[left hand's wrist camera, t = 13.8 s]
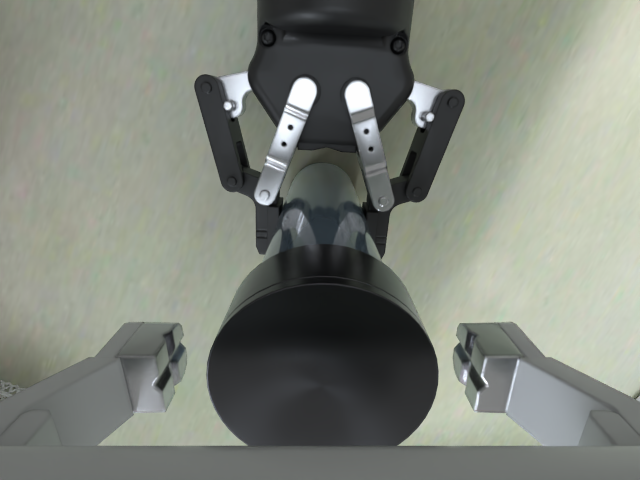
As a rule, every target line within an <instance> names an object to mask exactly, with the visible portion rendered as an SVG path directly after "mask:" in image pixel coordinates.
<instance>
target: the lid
mask: <svg viewBox="0 0 640 480" xmlns="http://www.w3.org/2000/svg"><path fill="white" fill-rule="evenodd" d="M438 372H439V371H438V363H437V358H436V354H435V351H434V348H433V345H432V343H431V341H430V339H429V336H428V334H427V332H426V330H425V328H424V325H423V323H422V321H421V319H420V317H419V314H418V312H417V310H416V308H415V306H414V303H413V301H412V299H411V297H410V295H409V293H408V291H407V289H406V287H405V286H404V284H403V283H402V281H401V280H400V278H399V277H398V276H397V275H396V274H395V273H394V272H393V271H392V270H391V269H390V268H389V267H387V266H386V265H385V264H384V263H382V262H381V261H379V260H378V259H376V258H374V257H373V256H371V255H369V254H367V253H364V252H362V251H360V250H356V249H353V248H350V247H346V246H340V245H334V244H312V245H304V246H299V247H294V248H291V249H288V250H285V251H282V252H280V253H278V254H276V255H274V256H272V257H270V258H268V259H267V260H265V261H264V262H262V263H261V264H259V265H258V266H257V267H256V268H255V269H254V270H253V271H251V272H250V274H249V275H248V276H247V277H246V278H245V279H244V281H243V282H242V284H241V285H240V287H239V288H238V290H237V292H236V294H235V296H234V298H233V301H232V303H231V305H230V307H229V310H228V312H227V314H226V316H225V318H224V321H223V323H222V325H221V327H220V330H219V332H218V334H217V336H216V338H215V341H214V343H213V345H212V348H211V350H210V354H209V358H208V362H207V374H206V375H207V386H208V391H209V395H210V399H211V401H212V403H213V406H214V408H215V410H216V412H217V414H218V415H219V417H220V418H221V420H222V421H223V423H224V424H225V425H226V426H227V427H228V429H229V430H230V431H231V432H232V433H233V434H234V435H235V436H236V437H238V438H239V439H240V440H241V441H243V442H244V443H245V444H247V445H248V446H397V445H399V444H400V443H401V442H403V441H404V440H405V439H407V438H408V437H409V436H410V435H411V434H412V433H413V432H414V431H415V430H416V429H417V428H418V427H419V426H420V424H421V423H422V422H423V420H424V419H425V418H426V416H427V414H428V412H429V410H430V409H431V407H432V404H433V401H434V399H435V396H436V391H437V386H438Z"/></svg>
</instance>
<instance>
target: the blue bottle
mask: <svg viewBox="0 0 640 480" xmlns="http://www.w3.org/2000/svg"><path fill="white" fill-rule="evenodd" d="M312 244H334V245H340V246H346V247H350V248H353V249H356V250H360V251H362V252H364V253H367V254H369V255H371V256H373V257H374V258H376V259H378V260H379V261H381V262H382V260H381V258H380V255H379V252H378V250H377V247H376V244H375V242H374V239H373V236H372V234H371V231H370V228H369V226H368V223H367V220H366V218H365V215H364V212H363V210H362V207H361V205H360V202H359V199H358V197H357V194H356V191H355V189H354V186H353V183H352V181H351V179H350V177H349V176H348V175H347V173H346V172H345V171H343V170H342V169H341V168H339V167H338V166H336V165H333V164H330V163H315V164H311V165H308V166H307V167H305V168H303V169H302V170H301V171H300V172H299V173H298V174H297V175H296V176H295V178H294V179H293V181H292V184H291V186H290V189H289V192H288V194H287V197H286V200H285V202H284V205H283V208H282V210H281V213H280V216H279V219H278V221H277V224H276V227H275V229H274V232H273V235H272V237H271V240H270V243H269V245H268V248H267V251H266V253H265V256H264V259H263V261H262V262H264V261H265V260H267V259H268V258H270V257H272V256H274V255H276V254H278V253H280V252H282V251H285V250H288V249H291V248H294V247H299V246H304V245H312Z"/></svg>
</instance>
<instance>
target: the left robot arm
mask: <svg viewBox="0 0 640 480" xmlns="http://www.w3.org/2000/svg"><path fill="white" fill-rule="evenodd" d="M183 336H184V334H183V329H182V325H181V324H179V323H161V322H128V323H125V324H124V325H123V326H122V327H121V328H120V329H119V330H118V331H117V332H116V334H115V335H114V336H113V337H112V338H111V339H110V340H109V341H108V343H107V344H106V345H105V346H104V347H103V348H102V349H101V350H100V352H99V353H98V354H97V355H96V356H95V357H89V358H87V359H85V360H83V361H81V362H79V363H77V364H75V365H72V366H70V367H68V368H66V369H64V370H62V371H60V372H58V373H56V374H54V375H52V376H50V377H48V378H46V379H44V380H42V381H40V382H38V383H36V384H34V385H32V386H30V387H28V388H26V389H24V390H22V391H20V392H18V393H16V394H14V395H12V396H10V397H8V398H6V399H4V400H2V401H0V480H640V396H639V397H638V398H637V399H634V398H632V397H630V396H628V395H626V394H624V393H622V392H620V391H618V390H616V389H614V388H612V387H610V386H608V385H606V384H604V383H602V382H600V381H598V380H596V379H594V378H592V377H590V376H588V375H586V374H584V373H582V372H580V371H578V370H575V369H573V368H571V367H569V366H567V365H565V364H563V363H561V362H559V361H557V360H555V359H553V358H551V357H545V356H544V355H543V354H542V353H541V352H540V350H539V349H538V348H537V347H536V346H535V345H534V344H533V343H532V341H531V340H530V339H529V338H528V337H527V336H526V335H525V334H524V332H523V331H522V330H521V329H520V328H519V327H518V326H517V325H516V324H515V323H513V322H494V323H460V324H459V326H458V328H457V334H456V336H457V338H458V339H459V341H460V343H459V344H458V345H457V346H456V347H455V348H454V353H453V365H454V370H455V374H456V376H457V378H458V380H459V382H461V383H462V384H464V385H465V386H466V390H465V394H466V396H467V398H468V400H469V402H470V404H471V406H472V408H473V410H474V412H490V413H506V415H507V416H509V417H510V418H511V419H512V420H513V421H515V422H516V423H517V424H518V425H519V426H521V427H522V428H523V429H524V430H525V431H527V432H528V433H529V434H530V435H531V436H533V437H534V438H535V439H536V440H537V441H539V442H540V443H541V444H542V445H543V446H97V445H98V444H99V443H100V442H102V441H103V440H104V439H105V438H106V437H108V436H109V435H110V434H111V433H112V432H114V431H115V430H116V429H117V428H118V427H120V426H121V425H122V424H123V423H124V422H125V421H127V420H128V419H129V418H130V417H131V416H133V415H134V413H150V412H166V410H167V408H168V406H169V404H170V402H171V400H172V398H173V396H174V394H175V390H174V386H175V385H176V384H178V383H179V382H181V380H182V378H183V376H184V374H185V370H186V365H187V352H186V348H185V347H184V346H183V345H182V344H181V343H180V341H181V339H182V338H183Z"/></svg>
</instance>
